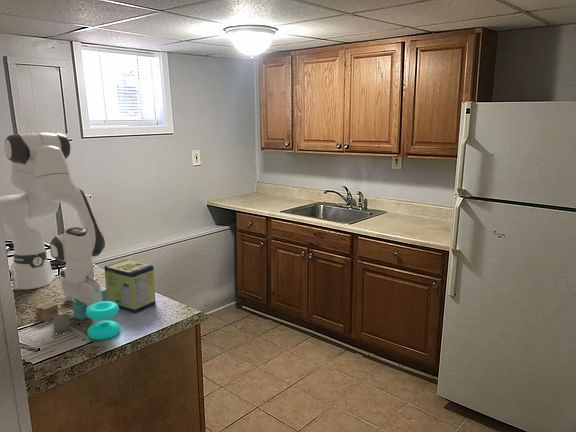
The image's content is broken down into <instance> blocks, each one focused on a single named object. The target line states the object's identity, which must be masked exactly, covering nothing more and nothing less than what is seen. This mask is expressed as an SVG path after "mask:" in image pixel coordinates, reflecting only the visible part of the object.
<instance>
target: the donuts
mask: <svg viewBox="0 0 576 432" xmlns="http://www.w3.org/2000/svg"><path fill="white" fill-rule="evenodd" d="M119 310H120V309H119V306H118V305H117V304H116V303H114V302H111V301H103V302H97V303H94V304H92V305H90V306H89V307H88V308H87V309H86V315H87V316H88V318H89V319H91V320H95V321H97V322H95V323H92V324H91V326H89V327H88V329H87V336H88V337H89V338H90V339H92V340H97V341H102V340H107V339H111V338H114V337H115V336H117V335H118V334H119V333H120V331H121V326H120V323H118V322H116V321H115V320H107V319H110V318H113V317H115V316H117V314H118V312H119Z"/></svg>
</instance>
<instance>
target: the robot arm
mask: <svg viewBox="0 0 576 432" xmlns="http://www.w3.org/2000/svg"><path fill="white" fill-rule="evenodd" d="M3 145H4V147H3V150H4V153H5V156H6V158H7V159H8V160H9V161H10V162H11V173H10V175H11V176H10V181H11V183H12V185H13V186H14V187H15V188H16V189H17V190H20V191H23V192H24V193H18V194H16V193H15V194H8V195H7V194H6V195H3V196H0V206H1V212H2V218H3V223H4V225H3V226H4V227H5V228H6V229H7V230H8V232H9V233H10V235H11V237H12V242H13V249H14V252H13V256H12V257H13V260H12V264H10V266H9V267H10V273H11V279H12V285H13V290H12V291H14V290H16V291H17V290H32V289H39V288H42V287H43V288H44V287H45V286H49V285H50V284H52V283H53V281H54V280H55V279H57V278H56V275H53V270H52V266H51V261H50V260H48V259H47V258H48V255H47V250H46V249H45V241H44V240H45V239H44V234H43V232H42V231H41V230H40V229H38V228H35V227H33V226H28V224H27V222H28V221H29V220H36V219H37V220H39V219H44V218H48V217H52V216H53V215H56V214H57V212H58V210H59V206H60V204H64V205H68V206H70V207H72V208H73V209H74V210H75V211H76V212H77V216H78V217H79V221H80V223H81V226H82V227H79V226H77V227H76V226H75V227H74V226H73V227H70V228H68V229H66V230H64V233H62V234H59V235H55V236H54V237H53V238H52V239H51V241H50V242H49V250H50V252H49V253H50V256H51V258H53V259H54V260H56V261H57V262H65V263H66V264H65V269H62V270H61V269H60V271H59V276H60V277H61V278H60V279H61V280H60V281H61V289H62V292H63V294H64V295H65V294H66V295H69V296H71V297H72V299H73V301H72V302H73V303H75V302H78V301H83V302H85V303H86V305H87V306H86V308H85V313H86V309H87V308H88V307H89V306H90V305H92V304H94V303H97V302H102V293H101V288H100V287H101V285H100V283H99V282H97V279H95V268H94V262H93V259H92V257H98V256H99V255H101V253H102V252H103V251H104V249H105V247H106V241H105V237H104V235H103V233H102V232H101V230H100V228H99V226H98V224H97V221H96V219H95V216H94V214H93V213H94V212H93V211H92V208H91V205H90V203H89V201H88V199H87V196H86V194H85V193H84V190H83V189H82V188H79V187H77V185H76V184H75V183H74V182H73V180H72V177H71V173H70V169H69V165H68V163H67V159H68V158H69V156H70V155H71V144H70V140H69V138H68V137H67V136H66V135H65V134H62V133H59V132H57V133H56V132H53V133H52V132H33V133H32V132H31V133H29V132H28V133H21V134H20V133H14V134H10V135H8V136H6V138H5V139H4V144H3ZM59 203H60V204H59Z"/></svg>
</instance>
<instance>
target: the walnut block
mask: <svg viewBox="0 0 576 432" xmlns="http://www.w3.org/2000/svg"><path fill="white" fill-rule="evenodd" d="M34 309H35V320H36V321H39V322H42V321H44V322H43V323H45V322H46V323H48V322H47V321H49V322H51V321H53V320H52V319H53V318H54V317H55V316H57V315H59V307H58V304H57V303H54V302H49V301H47V302H44V303H41V304H39V305H36V306H34ZM50 320H51V321H50Z"/></svg>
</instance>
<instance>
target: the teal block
mask: <svg viewBox="0 0 576 432" xmlns="http://www.w3.org/2000/svg"><path fill="white" fill-rule="evenodd" d="M86 306H87V305H86V303H85V302H83V301H78V302H75V303H74V302H72V312H73V317H74V318H76V319H79V320H81V321H82V320H85V319H88V318H89V317H88V316H87V315H86V313H85V308H86Z"/></svg>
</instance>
